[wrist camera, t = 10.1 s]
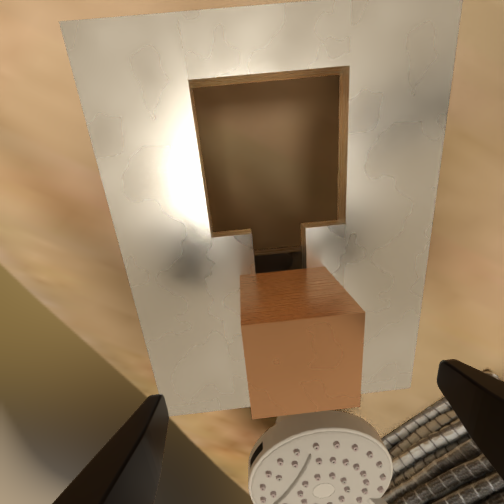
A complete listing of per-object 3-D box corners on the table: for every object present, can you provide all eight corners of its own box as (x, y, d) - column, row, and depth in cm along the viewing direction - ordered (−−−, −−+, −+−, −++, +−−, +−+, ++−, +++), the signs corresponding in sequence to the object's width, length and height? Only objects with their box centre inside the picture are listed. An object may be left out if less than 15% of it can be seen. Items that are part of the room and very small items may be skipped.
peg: (305, 244, 15) (365, 312, 8) (307, 303, 17) (359, 406, 9) (239, 251, 15) (240, 326, 8) (245, 310, 16) (252, 419, 9)
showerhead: (357, 559, 18) (224, 532, 16) (324, 450, 25) (228, 422, 23) (442, 472, 15) (295, 428, 13) (378, 377, 22) (275, 340, 20)
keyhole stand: (376, 58, 15) (464, -13, 9) (361, 326, 20) (410, 387, 15) (130, 80, 14) (58, 21, 9) (185, 346, 20) (165, 416, 14)
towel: (329, 465, 26) (366, 586, 18) (491, 360, 23) (617, 454, 15) (407, 526, 30) (463, 645, 22) (554, 443, 27) (678, 550, 19)
